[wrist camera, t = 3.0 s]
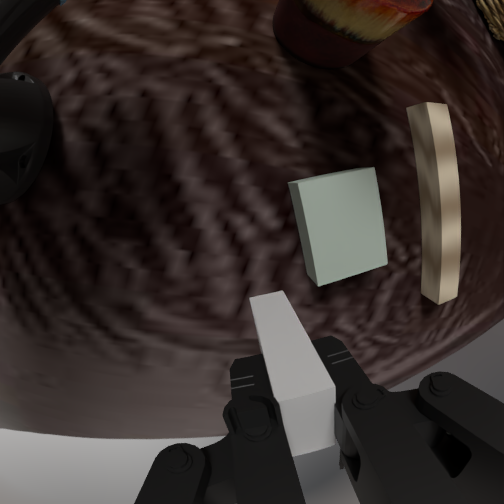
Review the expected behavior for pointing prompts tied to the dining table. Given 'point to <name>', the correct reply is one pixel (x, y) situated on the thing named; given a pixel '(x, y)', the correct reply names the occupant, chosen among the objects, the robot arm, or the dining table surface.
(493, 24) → the basket
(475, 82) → the dining table surface
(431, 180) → the curved wooden bar
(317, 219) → the block
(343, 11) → the vase
